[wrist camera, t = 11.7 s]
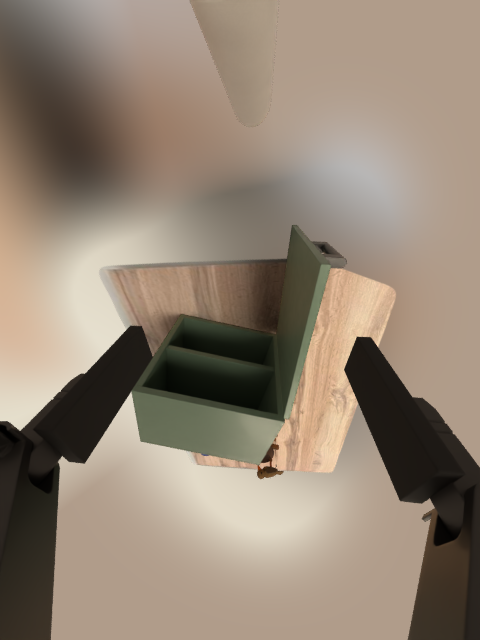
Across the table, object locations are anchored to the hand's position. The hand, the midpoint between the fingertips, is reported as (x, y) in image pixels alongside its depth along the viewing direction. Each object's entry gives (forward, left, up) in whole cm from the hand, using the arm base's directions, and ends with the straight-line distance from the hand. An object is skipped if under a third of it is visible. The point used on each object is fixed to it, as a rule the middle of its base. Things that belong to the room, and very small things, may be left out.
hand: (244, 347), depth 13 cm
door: (+9, +12, -34) cm, 37 cm away
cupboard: (+32, -2, -34) cm, 47 cm away
